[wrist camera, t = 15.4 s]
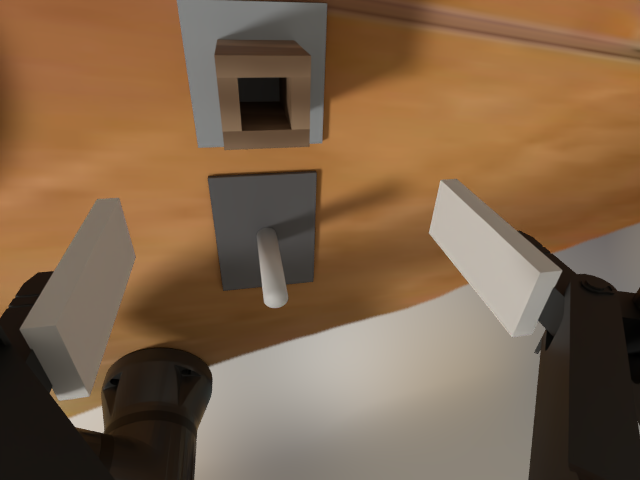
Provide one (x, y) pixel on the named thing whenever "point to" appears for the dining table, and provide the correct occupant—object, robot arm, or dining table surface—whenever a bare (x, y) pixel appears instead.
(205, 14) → the slate mat
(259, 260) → the post stand
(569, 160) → the dining table surface
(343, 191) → the dining table surface
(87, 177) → the dining table surface
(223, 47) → the walnut collar
